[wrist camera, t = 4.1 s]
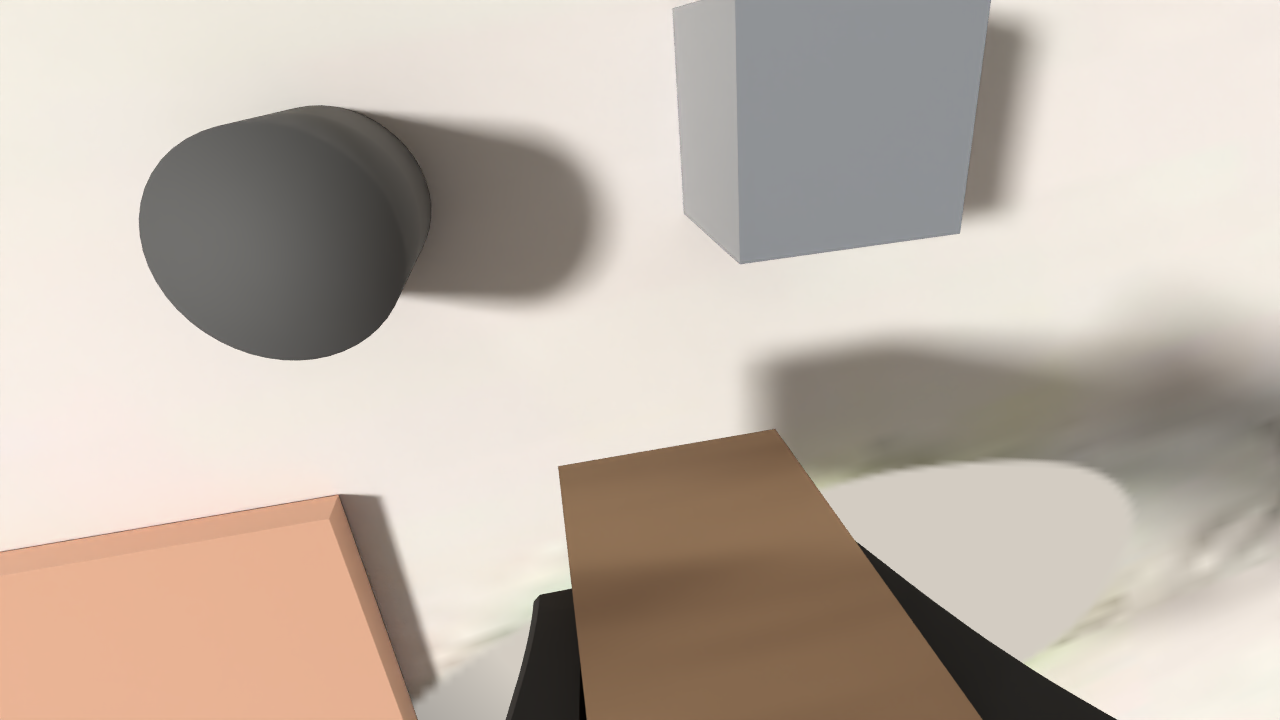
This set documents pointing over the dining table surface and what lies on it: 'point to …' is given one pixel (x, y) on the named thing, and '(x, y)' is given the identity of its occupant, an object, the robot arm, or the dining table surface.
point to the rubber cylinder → (286, 230)
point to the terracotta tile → (199, 623)
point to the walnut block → (735, 595)
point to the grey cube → (826, 120)
